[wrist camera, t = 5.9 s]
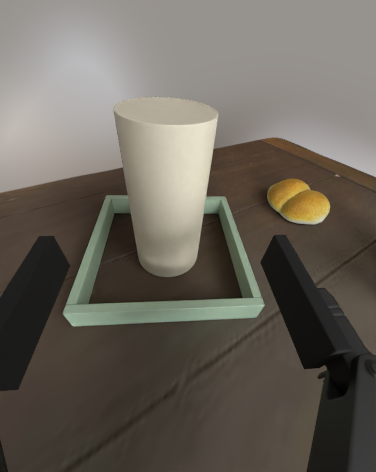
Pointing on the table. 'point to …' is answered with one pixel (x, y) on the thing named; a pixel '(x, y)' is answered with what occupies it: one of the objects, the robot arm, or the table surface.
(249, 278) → the green square frame
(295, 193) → the bread roll
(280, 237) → the robot arm
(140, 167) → the pillar candle
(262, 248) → the table surface
